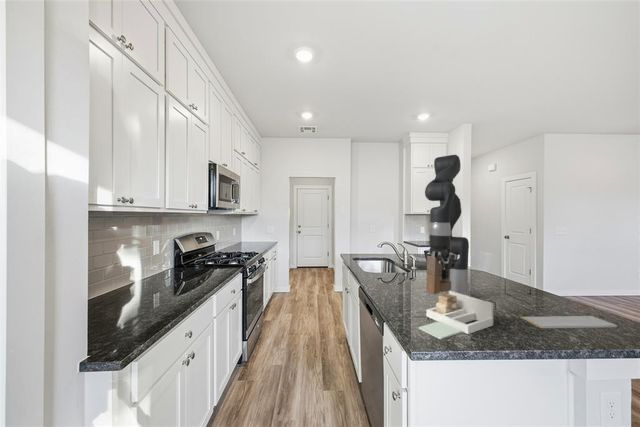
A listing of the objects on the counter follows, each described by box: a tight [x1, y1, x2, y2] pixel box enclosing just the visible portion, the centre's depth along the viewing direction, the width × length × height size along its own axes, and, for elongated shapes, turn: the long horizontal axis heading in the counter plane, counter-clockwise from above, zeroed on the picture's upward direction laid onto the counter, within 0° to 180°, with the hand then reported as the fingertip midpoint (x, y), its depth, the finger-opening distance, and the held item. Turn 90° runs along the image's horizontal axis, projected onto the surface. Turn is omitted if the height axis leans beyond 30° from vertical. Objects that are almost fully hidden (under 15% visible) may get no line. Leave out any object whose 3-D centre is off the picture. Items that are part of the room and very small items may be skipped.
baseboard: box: [520, 312, 618, 329], centre depth 109 cm, size 31×3×12 cm
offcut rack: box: [425, 291, 494, 335], centre depth 110 cm, size 16×19×9 cm
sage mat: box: [418, 321, 463, 340], centre depth 101 cm, size 12×10×1 cm
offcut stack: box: [435, 293, 458, 314], centre depth 115 cm, size 9×5×9 cm, turn 118°
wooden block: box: [425, 246, 451, 295], centre depth 100 cm, size 4×11×18 cm, turn 121°
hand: (439, 277), depth 101 cm, fingers closed on wooden block, 3 cm apart
